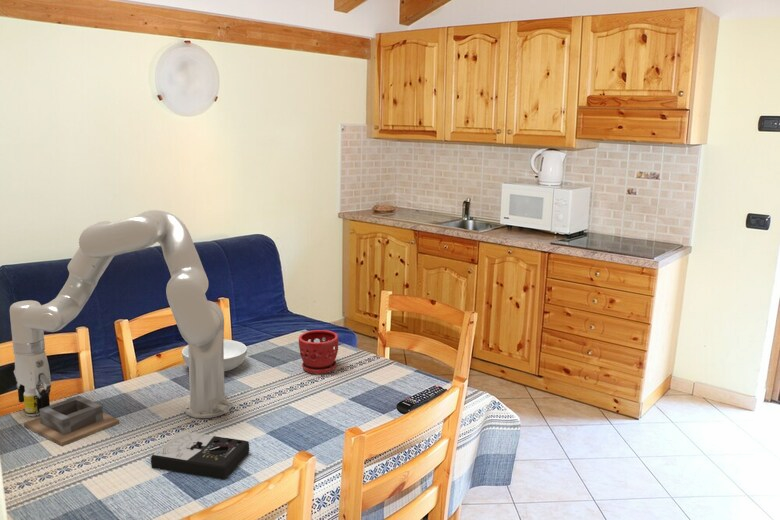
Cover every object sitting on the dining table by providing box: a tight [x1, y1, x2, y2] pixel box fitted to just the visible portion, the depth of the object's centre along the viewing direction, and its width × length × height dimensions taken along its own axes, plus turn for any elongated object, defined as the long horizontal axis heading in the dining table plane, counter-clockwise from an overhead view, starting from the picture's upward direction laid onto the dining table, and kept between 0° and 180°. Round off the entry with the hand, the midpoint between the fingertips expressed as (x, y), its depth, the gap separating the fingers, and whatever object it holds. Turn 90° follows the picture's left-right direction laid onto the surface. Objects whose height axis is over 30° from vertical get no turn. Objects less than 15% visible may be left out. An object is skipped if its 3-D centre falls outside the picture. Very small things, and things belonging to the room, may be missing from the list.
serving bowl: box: [181, 339, 248, 372], centre depth 213 cm, size 21×21×7 cm
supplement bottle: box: [23, 384, 43, 417], centre depth 176 cm, size 5×5×8 cm
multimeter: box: [150, 431, 250, 480], centre depth 154 cm, size 13×19×5 cm
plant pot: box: [298, 329, 339, 375], centre depth 213 cm, size 13×13×12 cm
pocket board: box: [23, 395, 121, 447], centre depth 170 cm, size 18×16×5 cm
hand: (34, 405), depth 176 cm, fingers open, 9 cm apart
